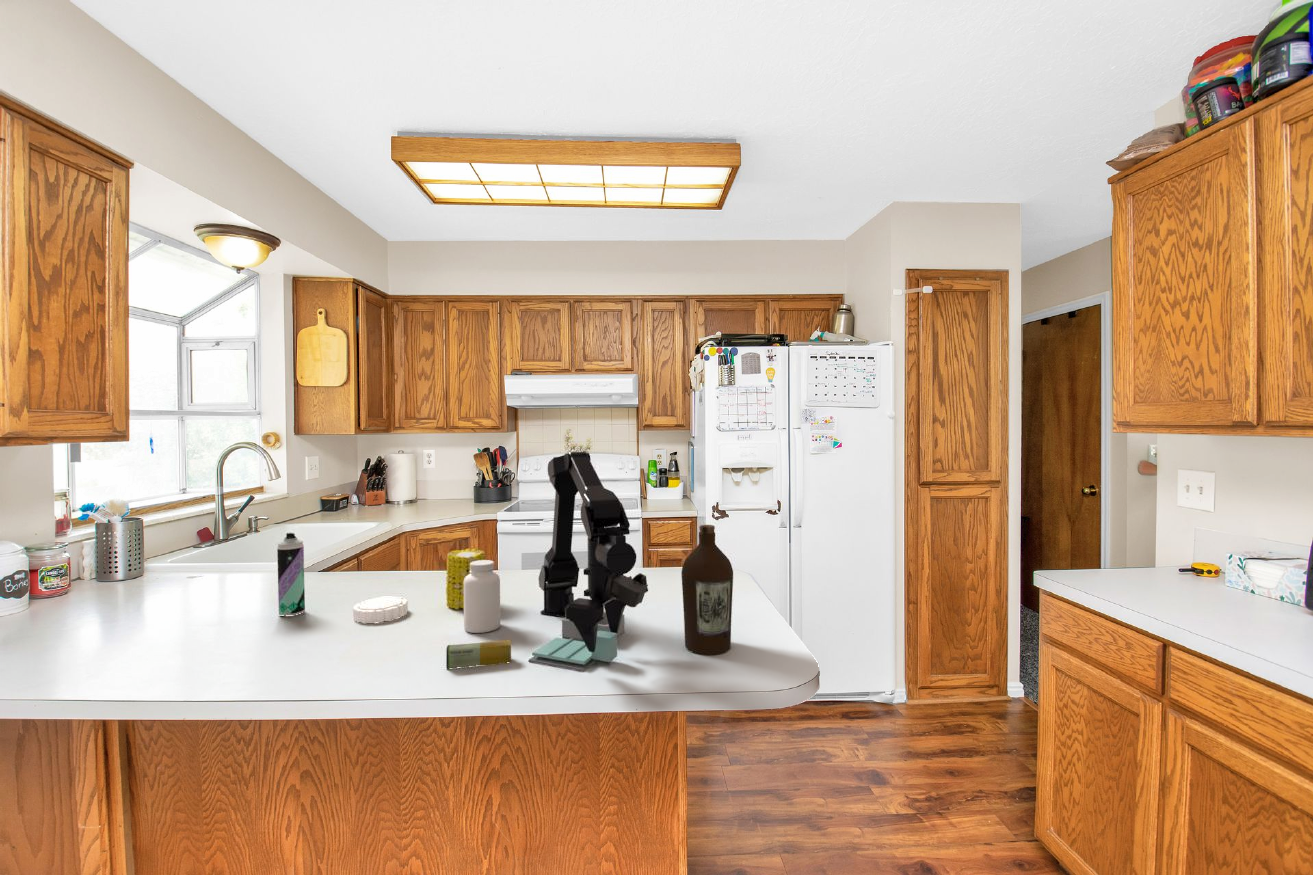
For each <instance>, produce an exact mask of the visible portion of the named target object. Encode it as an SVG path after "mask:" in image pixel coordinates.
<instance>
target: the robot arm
mask: <svg viewBox="0 0 1313 875" xmlns="http://www.w3.org/2000/svg"><path fill="white" fill-rule="evenodd" d="M591 461H592V460H591V455H590V453H589V452H586V451H569V452H567V453H564V454H563V455H561V456H554V457H553V458H552V459H550V460H549V462H548V464H547V475H548V478H549V482H550V483H551V485H552V487H553V489H554V490H555V494H554V497H555V498H554V511H553V512H554V514H553V526H552V528H553V529H552V542H551V548H550V549H549V550H548V551H547V553H546V554H545V555H544V559H543V565H542V566H541V568H540V571H539V575H538V587H539V588H540V589H541V590H542V592H543V607H544V608H543V609H542V610H541V611H539V612H540V614H541V615H548V616H554V617H555V616H556V617H565V618H566V619H569V620H570V621H571V622H573V623H574V625H575V626H576V628H577V630H578V631H579V633H580V635H581V637H582V639H583V641H584V643H585V645H586V647H587V649H588V651H589V652H594V651H595V647H596V639H597V628H598V624H599V623H600V622H601V621H602V620H603V619H604V617H602V616H603V613H604V612H606V616H607V620H608V624H609V628H610V631H611V632H612V633H618V630H619V626H620V622H621V619H622V615H624V611H625V608H626V607H630V608H636V607H637V606H638V605H639V604H642V602H643V600H644V597H645V594H646V593H647V592H649V588H648V586H649V585H648V582H647V575H645V574H643V573H641V572H640V573H638V574H636V575H635V576H633V577H632V576H631V575H630V576H626V574H628V573H630V571H632V570H633V568H634V567H635V564H636V562H637V553H636V550H635V549H634V547H633V546H632V545H631V544H630V543H628V542H626V540H627V539H626V538H627V537H626V536H627V535H630V529H629V528H630V524H631V523H630V521H629V519H628V516H627V512H626V509H625V508H624V505H623V504H622V502H621V501H620V499H619V498H618V496H617V495H616V494H615V492H614V491H612V490H609V489H607V488H605V487H604V485H603V483H602V481H601V479H600V477H599V476H598V473H597V472H596V470H595V467H594V466H593V463H592V462H591ZM578 493H579V495H580V498H581V499H582V504H581V506H580V507H581V508H580V519H581V522H582V525H583V528H584V531H585V533H586V536H587V567H586V568H584V569H583V575H584V576H587V589H585V590H583V597H578V598H576V599H575V598H574V597H575V596H574V595H575V593H574V592H573V588H577V587H578V583H579V575H580V574H579V573H580V567H579V564H578V561H577V558H576V557H575V555H574V554H573V552H572V544H573V542H572V541H573V534H574V533H573V530H574V529H573V528H574V519H575V517H574V516H575V505H576V495H577V494H578ZM618 525H619V526H618ZM584 597H587V598H584ZM565 618H564V619H565Z"/></svg>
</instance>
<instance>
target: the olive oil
mask: <svg viewBox="0 0 1313 875" xmlns="http://www.w3.org/2000/svg"><path fill="white" fill-rule="evenodd" d="M698 529H699V532H698V545H697V546H696V547H695V548H694V549H693V550H692V551H691V552H690V553H689V555H687V557H686V558H684V561H683V564H682V568H681V589H682V604H683V607H682V608H683V624H684V625H683V626H684V630H683V631H684V647H685V649H686V650H688V651H689V652H692V653H693V654H697V655H703V656H715V655H721V654H725V653H726V652H728V651H730V649H731V645H732V643H731V642H732V641H731V639H732V613H733V610H732V609H733V589H734V586H733V585H734V569H733V566H732V563H731V561H730V559H729V558H728V557H727V555H726V554H725V553H724V552H723V551H722V550H721V549H720V548H719V546H718V545H716V532H715V529H716V527H715V525H713V524H700V525H699V526H698Z"/></svg>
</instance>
